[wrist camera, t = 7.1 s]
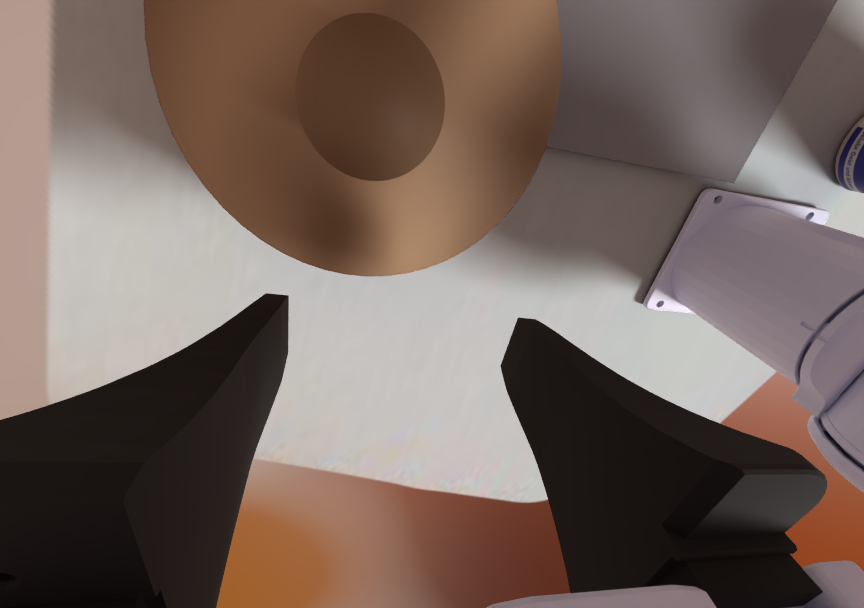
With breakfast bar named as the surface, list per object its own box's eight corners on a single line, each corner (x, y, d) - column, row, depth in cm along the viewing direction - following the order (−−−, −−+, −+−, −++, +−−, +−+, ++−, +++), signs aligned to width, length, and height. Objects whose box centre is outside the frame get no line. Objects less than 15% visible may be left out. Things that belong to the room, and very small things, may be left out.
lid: (618, -79, 11) (754, -167, 7) (486, 289, 17) (521, 351, 13) (126, -310, 8) (-109, -689, 4) (174, 239, 14) (99, 300, 10)
